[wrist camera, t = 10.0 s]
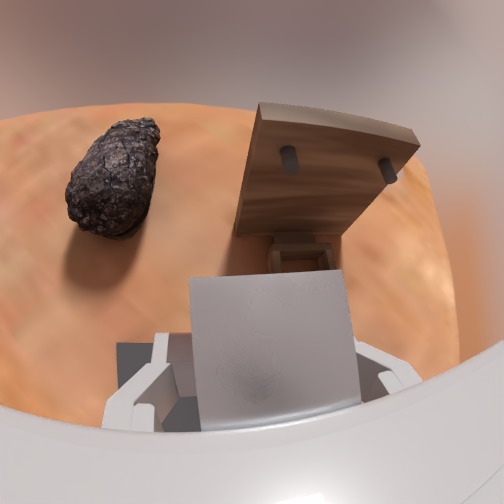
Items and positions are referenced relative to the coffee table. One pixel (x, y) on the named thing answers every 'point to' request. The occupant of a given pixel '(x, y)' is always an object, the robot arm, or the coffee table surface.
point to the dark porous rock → (115, 180)
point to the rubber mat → (185, 408)
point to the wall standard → (314, 177)
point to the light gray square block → (272, 348)
